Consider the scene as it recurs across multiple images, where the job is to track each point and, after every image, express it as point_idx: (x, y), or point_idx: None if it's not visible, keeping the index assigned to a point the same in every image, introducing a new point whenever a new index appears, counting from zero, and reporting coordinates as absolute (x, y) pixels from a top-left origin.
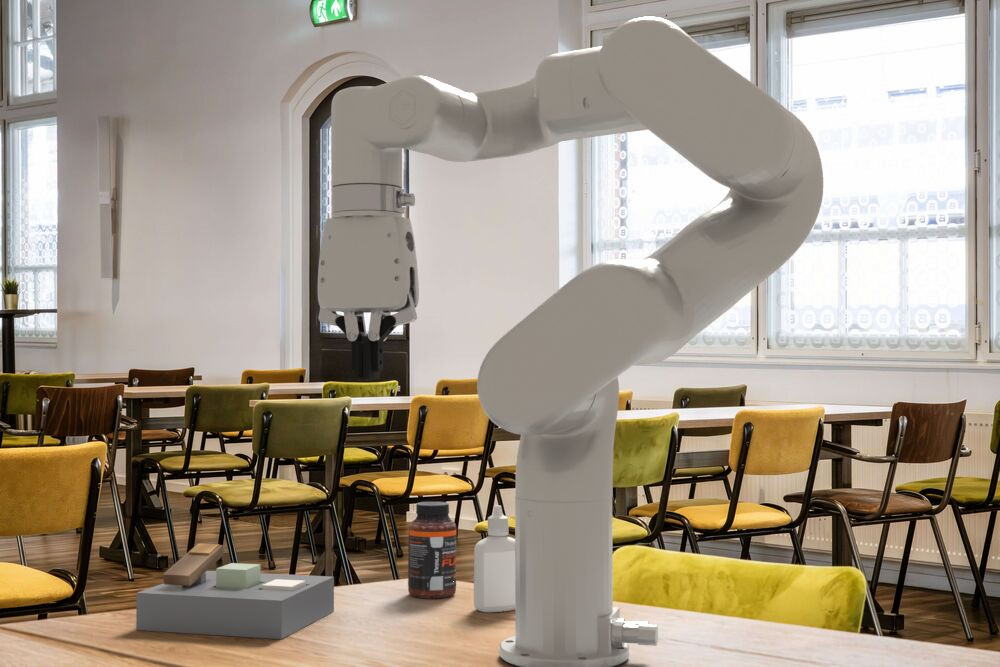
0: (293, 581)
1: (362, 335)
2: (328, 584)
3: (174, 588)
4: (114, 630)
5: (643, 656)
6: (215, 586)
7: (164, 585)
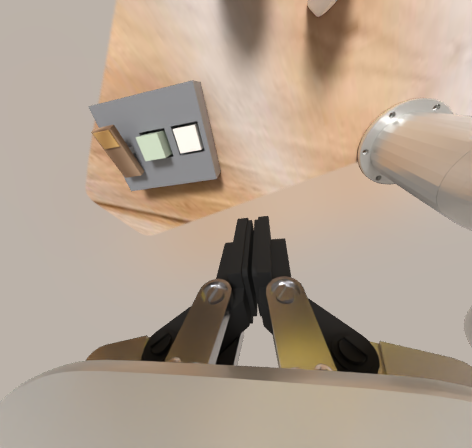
0: (189, 132)
1: (247, 323)
2: (197, 94)
3: None
4: None
5: None
6: None
7: None
